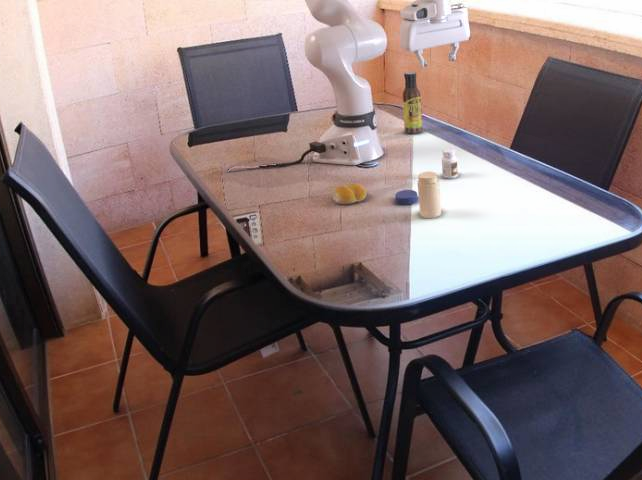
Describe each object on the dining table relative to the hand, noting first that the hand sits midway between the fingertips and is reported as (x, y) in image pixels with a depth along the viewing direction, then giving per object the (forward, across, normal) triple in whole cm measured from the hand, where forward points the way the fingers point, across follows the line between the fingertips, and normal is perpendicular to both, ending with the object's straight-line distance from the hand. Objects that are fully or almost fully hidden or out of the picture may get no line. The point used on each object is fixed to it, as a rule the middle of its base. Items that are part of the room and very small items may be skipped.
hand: (437, 63), depth 178 cm
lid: (+30, +19, +9) cm, 36 cm away
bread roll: (+31, +30, -2) cm, 44 cm away
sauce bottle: (+31, -15, -40) cm, 53 cm away
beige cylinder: (+31, +19, +21) cm, 42 cm away
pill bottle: (+31, 0, +3) cm, 31 cm away
